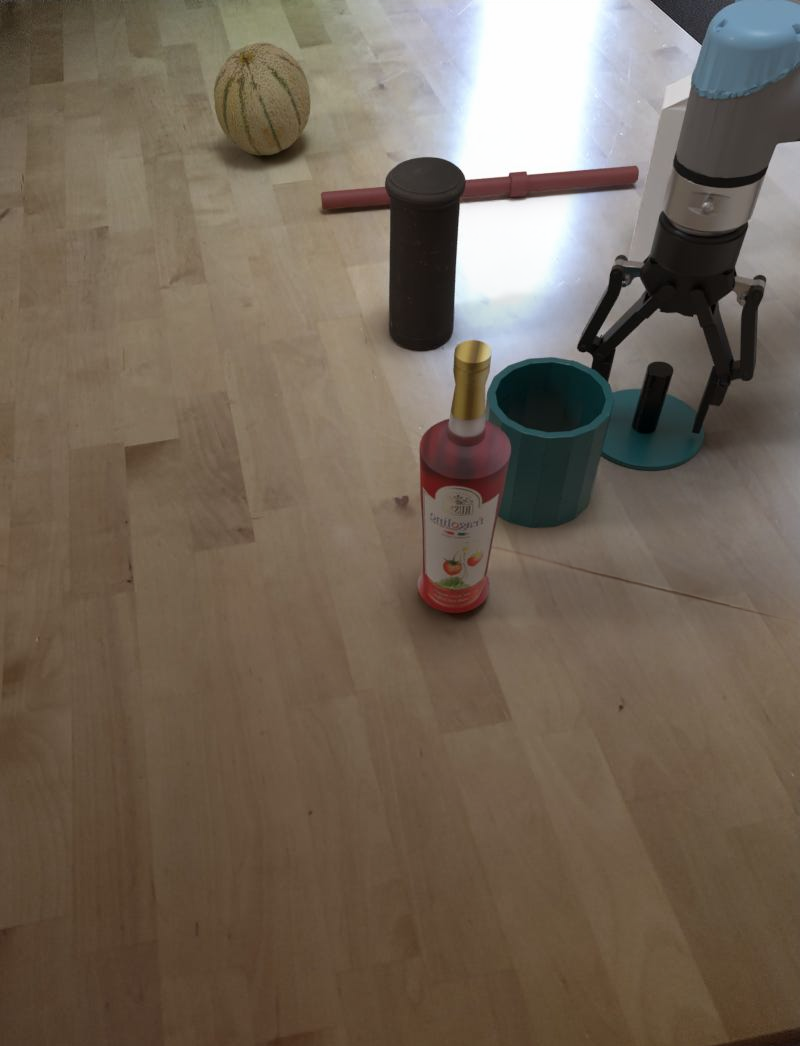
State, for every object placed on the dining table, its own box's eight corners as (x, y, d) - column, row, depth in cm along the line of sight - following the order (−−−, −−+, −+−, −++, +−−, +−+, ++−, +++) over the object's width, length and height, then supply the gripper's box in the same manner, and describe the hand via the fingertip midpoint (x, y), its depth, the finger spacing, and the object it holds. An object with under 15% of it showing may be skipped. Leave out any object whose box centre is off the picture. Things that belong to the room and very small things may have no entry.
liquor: (494, 569, 89) (529, 325, 66) (486, 627, 85) (519, 388, 62) (421, 560, 90) (430, 317, 67) (409, 617, 86) (414, 379, 63)
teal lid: (709, 409, 100) (733, 343, 93) (692, 485, 93) (716, 420, 86) (595, 388, 103) (610, 322, 96) (571, 460, 97) (585, 395, 90)
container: (445, 304, 115) (453, 144, 99) (464, 346, 110) (476, 184, 93) (379, 315, 114) (377, 156, 98) (395, 358, 109) (395, 197, 93)
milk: (627, 261, 118) (666, 79, 100) (632, 236, 121) (671, 56, 103) (675, 266, 116) (724, 82, 98) (679, 240, 120) (727, 58, 102)
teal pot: (600, 465, 96) (624, 369, 86) (576, 542, 90) (599, 448, 80) (495, 443, 99) (506, 348, 89) (465, 516, 93) (473, 422, 83)
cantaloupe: (321, 127, 145) (314, 22, 133) (304, 174, 137) (295, 66, 125) (233, 126, 148) (218, 23, 135) (211, 172, 139) (194, 66, 127)
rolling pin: (631, 179, 129) (636, 157, 127) (636, 190, 128) (641, 168, 125) (321, 205, 131) (320, 184, 129) (322, 217, 129) (321, 195, 127)
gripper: (567, 219, 79) (535, 417, 97) (840, 257, 73) (752, 460, 91) (585, 177, 83) (552, 374, 101) (846, 210, 77) (760, 413, 95)
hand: (647, 415), depth 96 cm, fingers open, 10 cm apart
